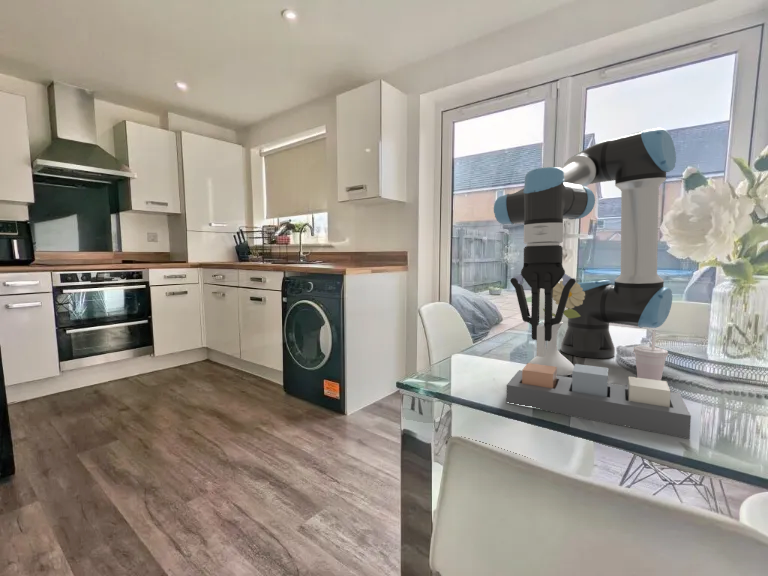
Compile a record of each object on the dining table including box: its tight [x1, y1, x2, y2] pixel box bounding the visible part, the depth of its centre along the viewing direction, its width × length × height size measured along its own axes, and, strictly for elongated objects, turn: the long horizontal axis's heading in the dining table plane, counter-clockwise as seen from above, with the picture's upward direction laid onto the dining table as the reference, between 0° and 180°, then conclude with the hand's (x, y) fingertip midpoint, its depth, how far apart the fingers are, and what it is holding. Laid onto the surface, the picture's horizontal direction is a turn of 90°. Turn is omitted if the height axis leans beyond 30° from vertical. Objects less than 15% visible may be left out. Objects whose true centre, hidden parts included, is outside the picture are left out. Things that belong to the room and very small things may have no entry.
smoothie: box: [632, 329, 669, 381], centre depth 84 cm, size 6×6×14 cm
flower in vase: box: [528, 280, 585, 377], centre depth 96 cm, size 13×11×25 cm
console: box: [505, 369, 692, 440], centre depth 74 cm, size 12×30×4 cm, turn 58°
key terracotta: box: [522, 362, 557, 389], centre depth 79 cm, size 6×6×5 cm
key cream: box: [627, 376, 671, 407], centre depth 69 cm, size 6×6×5 cm
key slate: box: [571, 363, 609, 397], centre depth 74 cm, size 6×6×5 cm
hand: (541, 355), depth 79 cm, fingers closed
